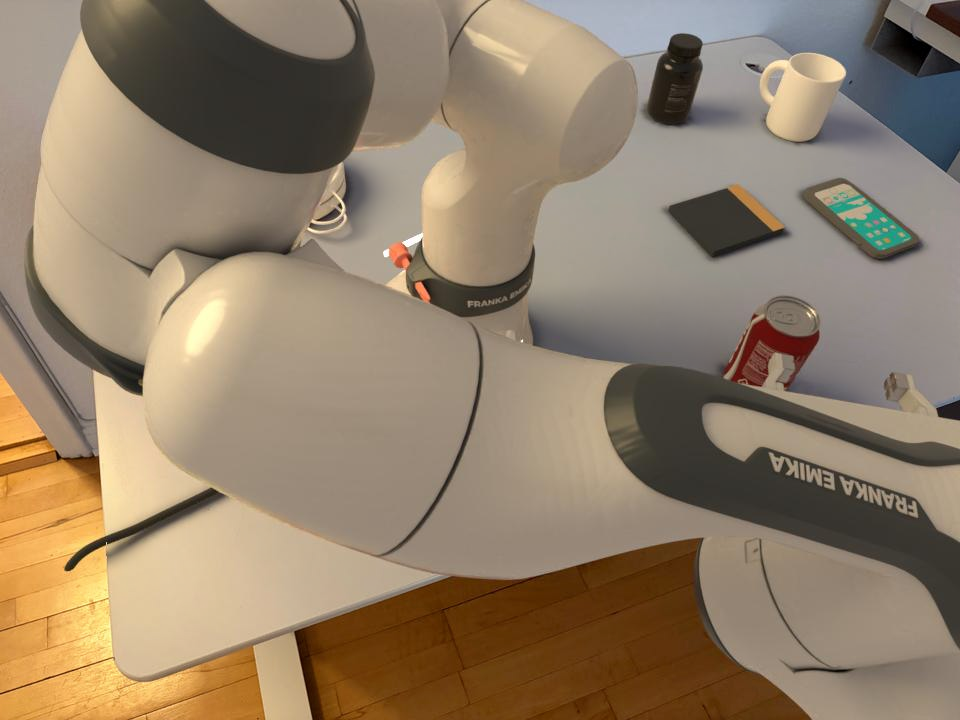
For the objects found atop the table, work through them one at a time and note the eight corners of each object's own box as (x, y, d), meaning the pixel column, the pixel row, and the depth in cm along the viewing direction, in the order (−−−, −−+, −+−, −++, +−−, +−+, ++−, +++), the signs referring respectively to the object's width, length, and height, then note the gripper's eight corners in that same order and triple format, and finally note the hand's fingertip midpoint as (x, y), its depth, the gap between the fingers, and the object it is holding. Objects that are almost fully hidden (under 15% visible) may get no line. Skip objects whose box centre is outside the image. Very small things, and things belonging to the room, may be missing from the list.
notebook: (711, 257, 94) (714, 251, 93) (667, 211, 100) (669, 204, 99) (781, 233, 98) (785, 227, 97) (735, 190, 103) (738, 184, 103)
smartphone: (845, 174, 105) (924, 238, 97) (842, 180, 106) (921, 244, 98) (800, 189, 102) (878, 256, 94) (798, 195, 103) (875, 261, 95)
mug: (735, 112, 116) (757, 51, 108) (766, 97, 119) (790, 36, 111) (796, 149, 110) (824, 88, 102) (827, 132, 114) (857, 71, 106)
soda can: (783, 416, 79) (830, 346, 69) (721, 404, 79) (759, 333, 70) (779, 368, 83) (823, 297, 74) (720, 357, 84) (757, 285, 74)
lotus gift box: (196, 137, 93) (272, 220, 84) (302, 100, 100) (383, 173, 91) (209, 181, 99) (282, 263, 90) (309, 142, 105) (386, 215, 96)
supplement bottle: (694, 111, 116) (717, 38, 106) (678, 131, 112) (700, 57, 103) (655, 96, 118) (674, 24, 108) (638, 116, 114) (656, 42, 105)
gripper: (1048, 527, 47) (992, 365, 56) (734, 471, 49) (727, 322, 57) (990, 566, 52) (947, 411, 61) (707, 514, 54) (704, 370, 62)
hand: (838, 368), depth 59 cm, fingers open, 8 cm apart
